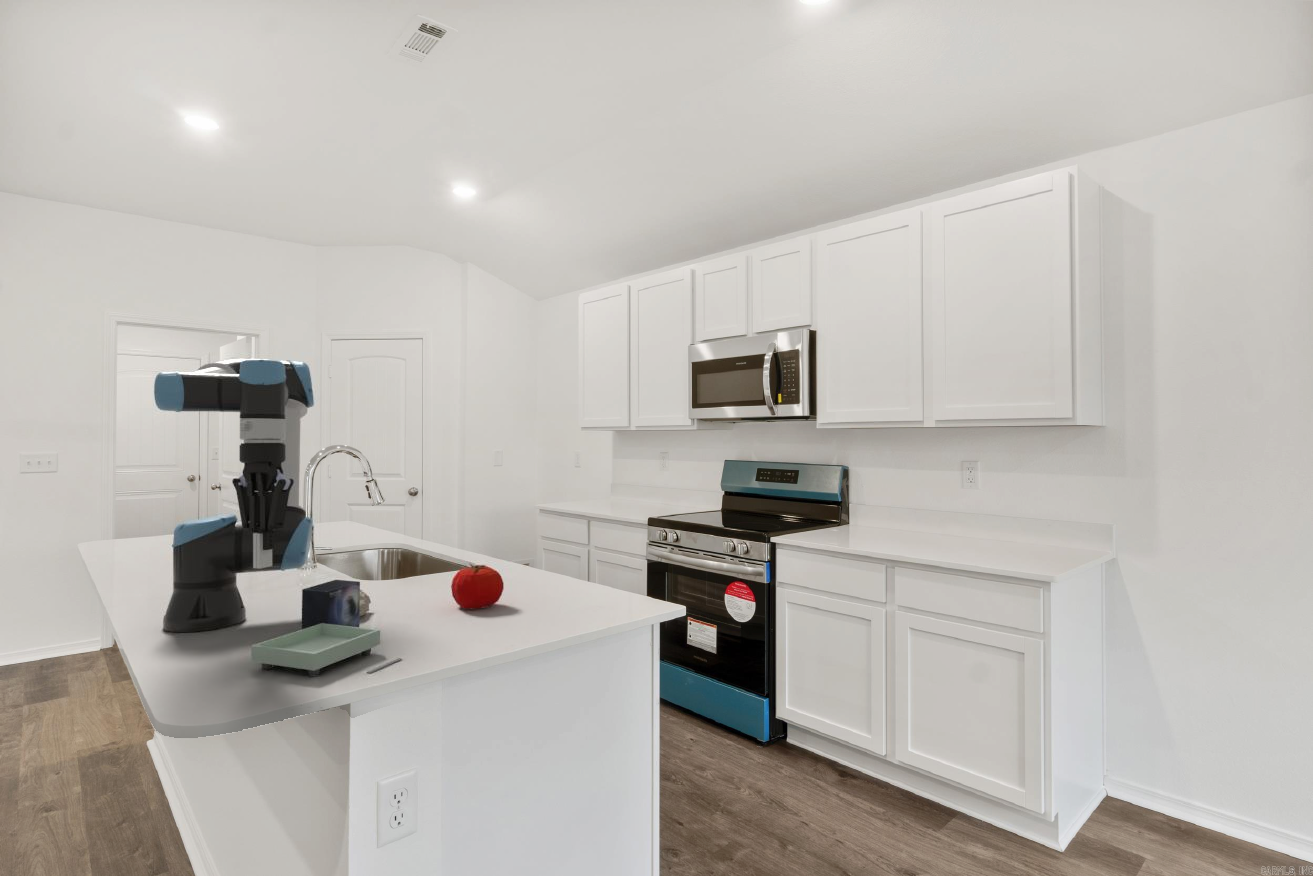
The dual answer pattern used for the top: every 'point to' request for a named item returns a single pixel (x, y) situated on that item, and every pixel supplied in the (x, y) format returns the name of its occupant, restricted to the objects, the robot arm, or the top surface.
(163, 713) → the top surface
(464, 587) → the tomato
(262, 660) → the green footed tray
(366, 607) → the stone
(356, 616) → the small box
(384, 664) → the strip
